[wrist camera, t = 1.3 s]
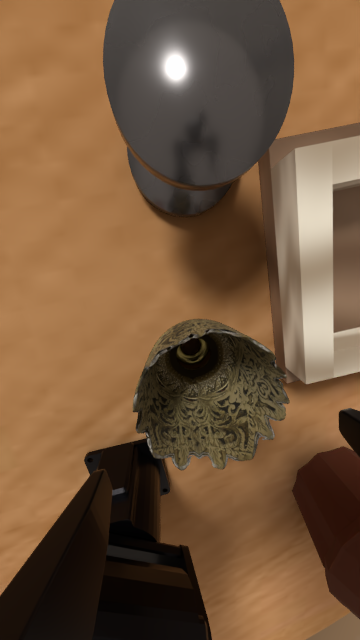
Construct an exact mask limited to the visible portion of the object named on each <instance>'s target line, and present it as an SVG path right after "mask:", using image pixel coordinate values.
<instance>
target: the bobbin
mask: <svg viewBox="0 0 360 640" xmlns="http://www.w3.org/2000/svg"><path fill="white" fill-rule="evenodd" d="M103 66H104V78H105V84H106V89H107V94H108V98H109V101H110V105H111V108H112V111H113V114H114V118H115V121H116V124H117V126H118V128H119V131H120V133H121V136H122V138H123V139H124V141H125V143H126V145H127V152H128V160H129V165H130V168H131V172H132V175H133V178H134V180H135V182H136V185H137V186H138V188H139V190H140V192H141V193H142V194H143V196H144V197H145V198H146V199H147V200H148V201H149V202H150V203H151V204H152V205H153V206H154V207H156V208H157V209H159V210H160V211H162V212H164V213H167V214H170V215H173V216H179V217H189V216H195V215H198V214H201V213H203V212H205V211H207V210H209V209H210V208H212V207H213V206H214V205H215V204H217V203H218V201H219V200H220V199H221V198H222V197H223V196H224V195H225V194H226V192H227V191H228V190H229V188H230V186H231V184H232V183H233V181H235V180H237V179H238V178H240V177H241V176H242V175H244V174H245V173H246V172H247V171H248V170H250V168H251V167H252V166H253V165H254V164H255V163H256V162H257V161H258V160H259V159H260V158H261V157H262V156H263V155H264V154H265V153H266V151H267V150H268V149H269V147H270V146H271V144H272V143H273V141H274V140H275V138H276V136H277V134H278V133H279V131H280V129H281V126H282V124H283V122H284V119H285V117H286V113H287V110H288V107H289V104H290V99H291V94H292V88H293V79H294V54H293V44H292V39H291V34H290V28H289V25H288V22H287V18H286V15H285V12H284V10H283V8H282V5H281V3H280V1H279V0H114V3H113V5H112V8H111V10H110V14H109V18H108V22H107V26H106V31H105V38H104V49H103Z"/></svg>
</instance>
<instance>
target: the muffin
mask: <svg viewBox="0 0 360 640" xmlns="http://www.w3.org/2000/svg"><path fill="white" fill-rule="evenodd" d="M292 492H293V494H294V496H295V499H296V501H297V504H298V506H299V508H300V511H301V513H302V516H303V518H304V521H305V523H306V525H307V528H308V530H309V533H310V535H311V537H312V540H313V542H314V545H315V547H316V549H317V552H318V554H319V557H320V559H321V561H322V564H323V566H324V568H325V575H326V580H327V584H328V588H329V592H330V593H331V594H332V595H334V596H335V597H336V598H337V599H338V600H339V601H340V602H341V603H342V604H343V605H344V606H346V607H347V608H348V609H349V610H350V611H351V612H352V613H353V614H355V615H356V616H357V617H358V618H359V619H360V458H359V456H358V455H357V454H356V452H355V451H353V450H350V449H348V448H346V447H344V446H343V447H340V448H337V449H334V450H331V451H327V452H321V453H317V454H316V455H315V456H314V458H313V459H312V460H311V461H310V462H309V463H307V464H306V465H305V466H303V467H302V468H301V469H299V470H298V473H297V479H296V482H295V485H294V487H293V490H292Z"/></svg>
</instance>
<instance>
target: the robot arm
mask: <svg viewBox="0 0 360 640" xmlns="http://www.w3.org/2000/svg"><path fill="white" fill-rule="evenodd" d="M339 430H340V432H341V434H342V436H343V437H344V438H345V440H346V441H347V442H348V443H349V445H350V446H351V447H352V449H353V450H354V451H355V452H356V454H357V455H358V456H359V458H360V411H357V410H355V409H351V408H348V409H344V410H341V411H340V412H339ZM91 458H92V459H91ZM84 462H85V464H86V466H87V469H88V471H89V473H90V476H89V478H88V479H87V480H86V482H85V483H84V484H83V486H82V487H81V488H80V490H79V491H78V493H77V494H76V495H75V497H74V498H73V499H72V501H71V502H70V503H69V505H68V506H67V507H66V509H65V510H64V511H63V513H62V514H61V515H60V517H59V518H58V519H57V521H56V522H55V523H54V525H53V526H52V527H51V529H50V530H49V531H48V533H47V534H46V535H45V537H44V538H43V539H42V541H41V542H40V543H39V545H38V546H37V547H36V549H35V550H34V551H33V553H32V554H31V555H30V557H29V558H28V559H27V561H26V562H25V563H24V565H23V566H22V567H21V569H20V570H19V571H18V573H17V574H16V575H15V577H14V578H13V580H12V581H11V582H10V584H9V585H8V586H7V588H6V589H5V590H4V592H3V593H2V594H1V596H0V640H212V637H211V631H210V626H209V622H208V618H207V614H206V610H205V607H204V603H203V599H202V596H201V592H200V588H199V585H198V581H197V577H196V574H195V570H194V566H193V563H192V559H191V556H190V552H189V548H188V546H184V545H180V546H175V545H170V544H164V543H160V496H161V495H165V494H168V493H169V492H170V483H169V480H168V477H167V473H166V470H165V466H164V463H163V459H158V458H154V457H153V455H152V453H151V451H150V449H149V446H148V443H147V438H146V439H142V440H138V441H134V442H130V443H125V444H121V445H117V446H113V447H109V448H105V449H100V450H96V451H92V452H89V453H87V454H86V457H85V459H84Z"/></svg>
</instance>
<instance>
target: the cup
mask: <svg viewBox="0 0 360 640" xmlns="http://www.w3.org/2000/svg"><path fill="white" fill-rule="evenodd" d="M191 338H197V339H198V340H199V341H200V344H201V347H200V350H199V351H198V352H197V353H196V354H194V355H186V354H185V353H183V352H182V350H181V344H182V343H185V342H187V341H189V340H190V339H191ZM275 360H276V357H275V355H274V354H273V352H272V351H270V350H269V349H268V348H266V347H265V346H264V345H262V344H261V343H259V342H257V341H256V340H254V339H252V338H251V337H248V336H246V335H244V334H242V333H240V332H238V331H237V330H235V329H233V328H231V327H229V326H226V325H224V324H222V323H219V322H216V321H212V320H207V319H193V320H187V321H184V322H181V323H178V324H177V325H175V326H173V327H171V328H170V329H169V330H167V331H166V332H165V333H164V334H163V335H162V336H161V337H160V338H159V340H158V341H157V342H156V344H155V345H154V347H153V349H152V351H151V353H150V355H149V357H148V360H147V362H146V364H145V367H144V369H143V372H142V375H141V377H140V379H139V382H138V384H137V387H136V391H135V396H134V400H133V412H138V419H137V424H136V431H137V433H144V432H145V433H146V437H147V443H148V446H149V449H150V451H151V453H152V455H153V457H154V458H158V459H163V458H168V457H172V460H173V463H174V465H175V466H176V467H177V468H178V469H179V470H184V469H186V468H187V466H188V465H189V463H190V459H191V457H192V456H190V457H189V455H194V456H196V457H197V458H199V459H200V458H202V457H205V456H208V457H209V458H210V459H211V461H212V465H213V467H214V468H218V469H224V468H225V466H226V464H227V460H228V458H231V459H233V460H235V461H245V460H251V459H253V457H254V455H255V452H256V448H257V445H258V444H257V443H258V439H259V437H260V438H261V436H259V435H260V434H261V435H262V437H265V438H266V439H269V440H270V439H272V440H273V439H274V437H275V434H274V432H273V429H272V427H271V425H270V422H269V419H272V420H275V421H277V420H278V421H281V420H283V419H285V416H286V413H285V407H284V405H283V404H282V403H287V404H288V403H290V401H289V399H288V397H287V394H286V392H285V391H284V389H283V384H282V383H281V381H279V379H280V378H281V379H282V378H287V376H286V374H285V373H284V372H283V370H282V369H281V368H280V367H278V366H277V364H276V363H275ZM268 417H269V418H268ZM144 430H145V431H144ZM263 439H264V438H263ZM266 439H265V440H266ZM201 456H202V457H201ZM188 457H189V458H188Z"/></svg>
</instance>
